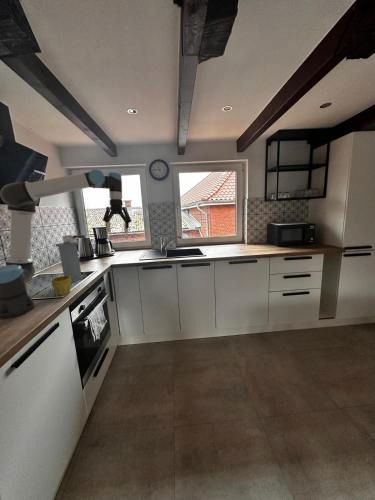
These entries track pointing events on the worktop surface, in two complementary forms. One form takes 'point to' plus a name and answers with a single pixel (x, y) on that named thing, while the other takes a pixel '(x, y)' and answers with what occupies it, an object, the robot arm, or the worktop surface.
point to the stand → (70, 260)
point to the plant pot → (62, 284)
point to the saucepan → (71, 238)
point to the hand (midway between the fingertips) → (117, 233)
